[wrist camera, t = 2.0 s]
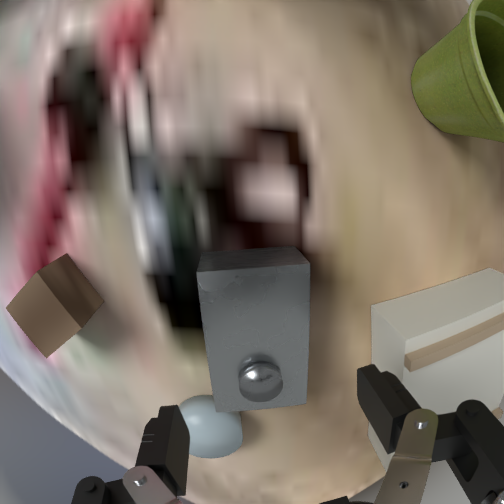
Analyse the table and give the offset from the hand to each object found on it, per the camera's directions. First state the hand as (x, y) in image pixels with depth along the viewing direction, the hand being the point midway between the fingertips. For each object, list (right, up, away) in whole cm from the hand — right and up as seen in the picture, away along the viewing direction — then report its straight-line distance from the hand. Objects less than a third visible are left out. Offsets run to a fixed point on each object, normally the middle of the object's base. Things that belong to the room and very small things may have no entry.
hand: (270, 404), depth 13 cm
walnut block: (-13, +4, +6) cm, 15 cm away
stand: (+14, -3, +10) cm, 18 cm away
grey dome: (-4, -6, +9) cm, 12 cm away
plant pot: (+13, +18, +5) cm, 22 cm away
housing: (-1, +2, +8) cm, 8 cm away
